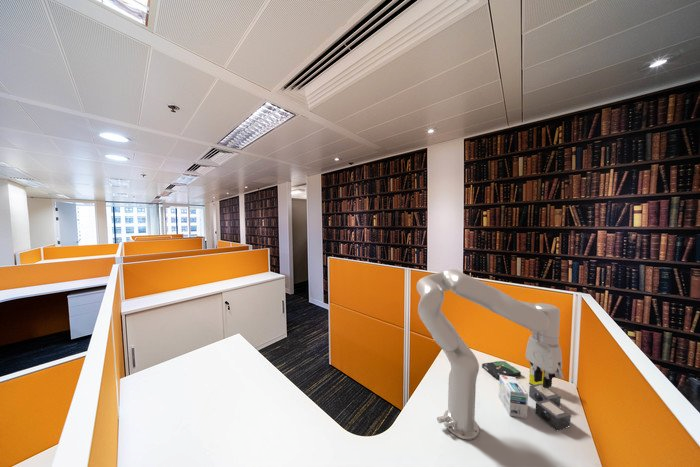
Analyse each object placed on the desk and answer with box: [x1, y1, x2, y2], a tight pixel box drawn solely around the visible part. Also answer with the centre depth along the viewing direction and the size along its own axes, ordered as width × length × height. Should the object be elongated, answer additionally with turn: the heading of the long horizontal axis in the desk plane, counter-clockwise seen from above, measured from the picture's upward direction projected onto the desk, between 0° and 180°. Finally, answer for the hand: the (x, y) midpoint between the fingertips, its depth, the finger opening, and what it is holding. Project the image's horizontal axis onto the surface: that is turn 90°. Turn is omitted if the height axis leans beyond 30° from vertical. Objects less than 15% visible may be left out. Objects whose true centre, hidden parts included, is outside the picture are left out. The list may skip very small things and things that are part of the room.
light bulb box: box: [498, 375, 529, 419], centre depth 98 cm, size 11×7×11 cm, turn 168°
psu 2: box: [534, 399, 572, 432], centre depth 92 cm, size 7×8×5 cm
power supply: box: [528, 383, 562, 408], centre depth 101 cm, size 7×8×5 cm
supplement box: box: [528, 363, 550, 389], centre depth 111 cm, size 6×6×11 cm
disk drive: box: [481, 360, 522, 381], centre depth 122 cm, size 10×3×15 cm
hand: (542, 383), depth 86 cm, fingers open, 2 cm apart
